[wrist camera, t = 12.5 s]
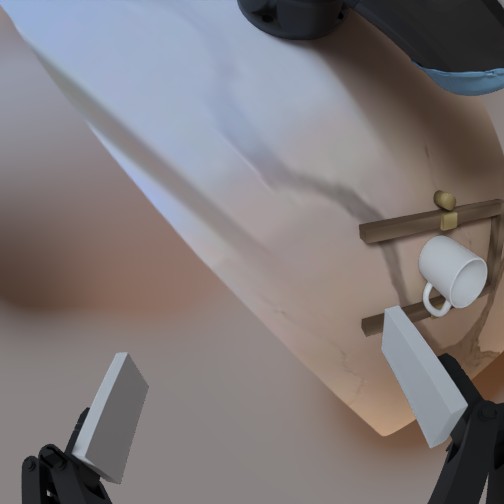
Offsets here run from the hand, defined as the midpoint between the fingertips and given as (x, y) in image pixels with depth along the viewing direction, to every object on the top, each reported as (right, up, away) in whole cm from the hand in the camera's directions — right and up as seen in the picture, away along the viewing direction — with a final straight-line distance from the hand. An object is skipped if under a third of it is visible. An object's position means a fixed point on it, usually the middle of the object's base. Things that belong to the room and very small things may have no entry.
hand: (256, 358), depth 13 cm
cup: (+31, +3, +29) cm, 42 cm away
